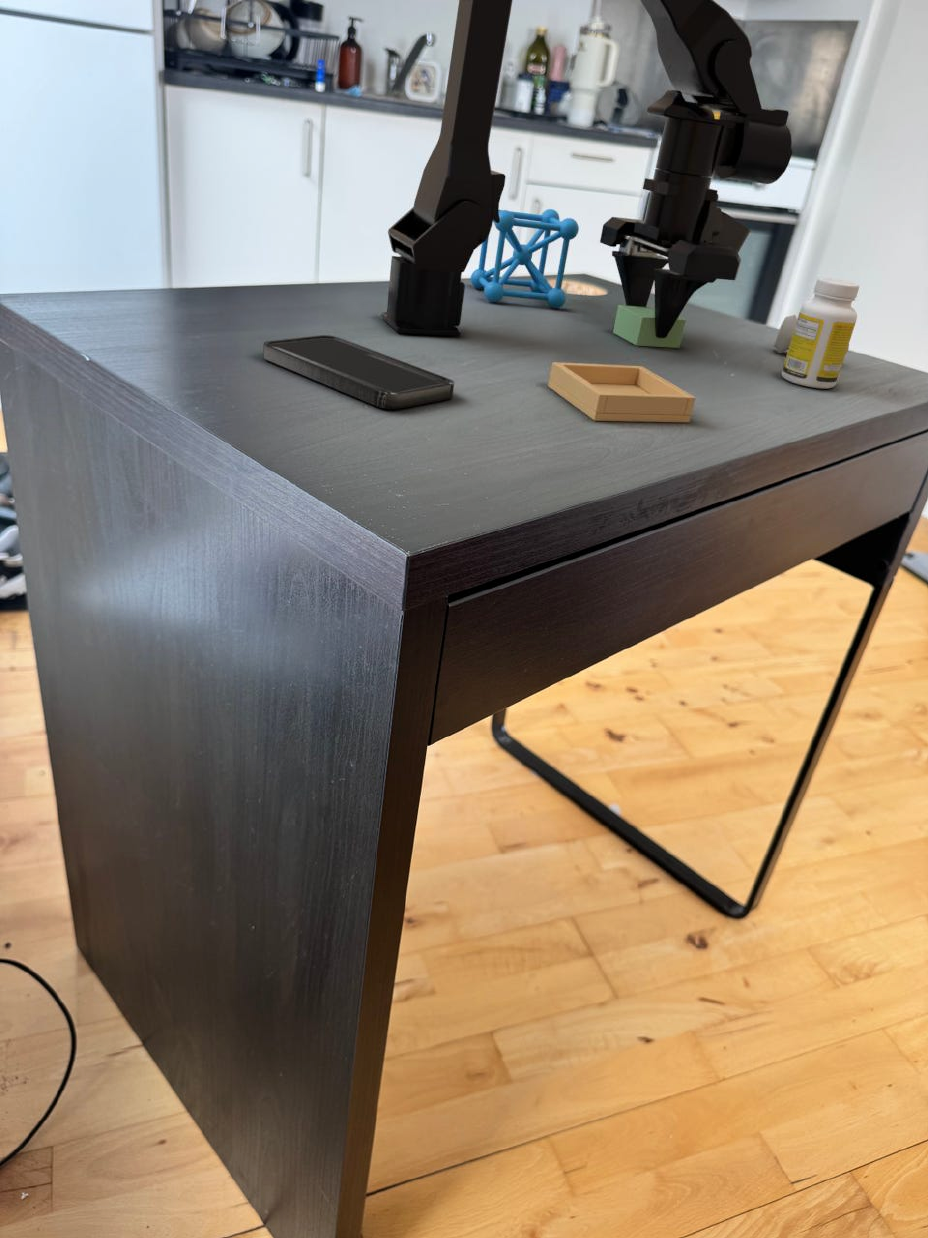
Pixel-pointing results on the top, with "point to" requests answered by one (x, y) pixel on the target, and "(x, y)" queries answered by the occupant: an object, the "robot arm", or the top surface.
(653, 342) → the green pad
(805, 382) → the supplement bottle
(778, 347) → the smooth white sculpture
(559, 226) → the molecular structure
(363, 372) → the phone
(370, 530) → the top surface
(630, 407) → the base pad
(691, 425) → the top surface
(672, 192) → the robot arm
